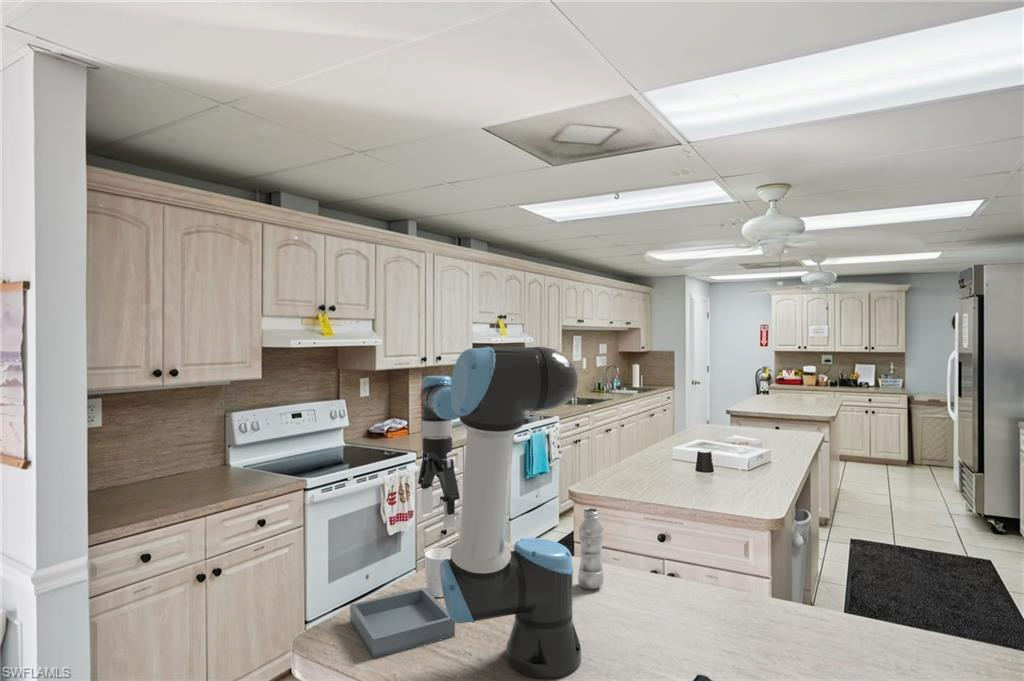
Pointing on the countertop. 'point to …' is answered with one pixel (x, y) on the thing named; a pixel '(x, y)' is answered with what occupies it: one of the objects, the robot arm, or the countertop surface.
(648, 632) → the countertop surface
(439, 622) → the bin
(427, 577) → the white cup
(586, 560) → the plastic bottle
